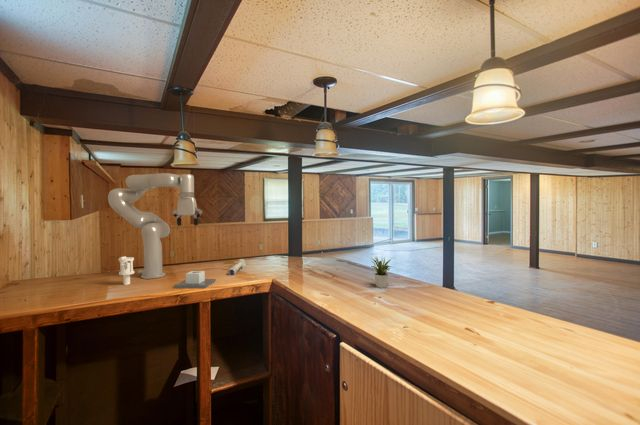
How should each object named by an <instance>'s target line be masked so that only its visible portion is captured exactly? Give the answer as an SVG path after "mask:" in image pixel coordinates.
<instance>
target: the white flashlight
mask: <svg viewBox="0 0 640 425" xmlns="http://www.w3.org/2000/svg"><path fill="white" fill-rule="evenodd" d="M246 265H247V263H246V260H245V259H244V258H240V259H238V262H237V263H235V264H234V265H232V266H231V267H230V268H229V270H228V271H227V273H228V275H229V276H234V275H236V273H238V271H239V270H244V269H246Z"/></svg>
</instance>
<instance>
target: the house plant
mask: <svg viewBox="0 0 640 425" xmlns="http://www.w3.org/2000/svg"><path fill="white" fill-rule="evenodd" d="M383 256H384V254H382V256H381V260H379V259H378V257H377V256H374V258H372V260H373V261H372V260H371V262H372V263H373V265H371V267H370V268H372V269H373V270H372V271H376V273H374V281H375V286H376V288H381V289H383V288H385V289H386V288H387V286H388V281H389V276H390V275H389V273H387V271H388V272H390V269H391V268H392V265H388V264H389V263H390V261H391V260H392V259H394V257H391V258H390V259H388V260H387V261H386V256H384V257H383ZM367 257H369V258H370V255H369V256H367Z"/></svg>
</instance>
